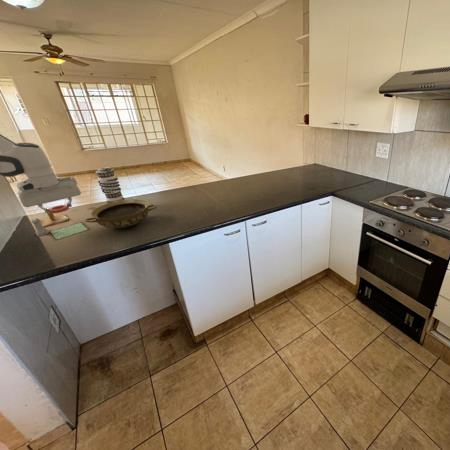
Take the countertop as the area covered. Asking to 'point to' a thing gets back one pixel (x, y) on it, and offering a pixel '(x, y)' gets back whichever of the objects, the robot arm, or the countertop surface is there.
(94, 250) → the countertop surface
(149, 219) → the countertop surface
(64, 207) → the ring
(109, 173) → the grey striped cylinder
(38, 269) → the countertop surface
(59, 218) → the holder
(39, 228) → the rook chess piece
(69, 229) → the mat
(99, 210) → the ceramic bowl
